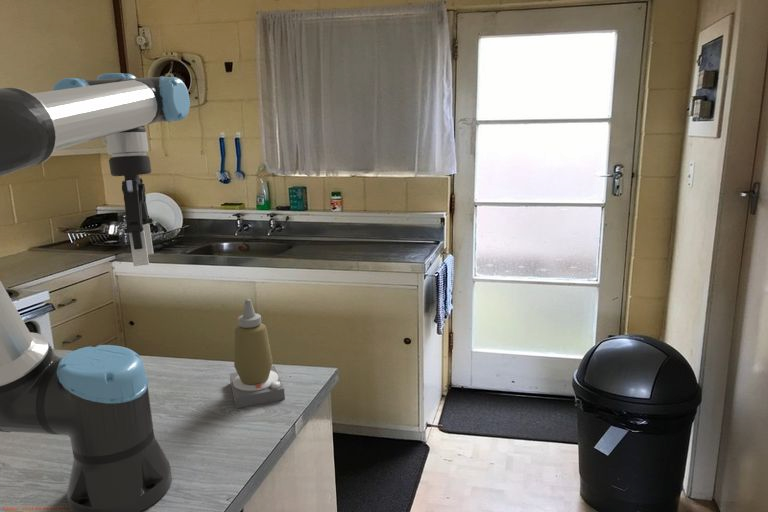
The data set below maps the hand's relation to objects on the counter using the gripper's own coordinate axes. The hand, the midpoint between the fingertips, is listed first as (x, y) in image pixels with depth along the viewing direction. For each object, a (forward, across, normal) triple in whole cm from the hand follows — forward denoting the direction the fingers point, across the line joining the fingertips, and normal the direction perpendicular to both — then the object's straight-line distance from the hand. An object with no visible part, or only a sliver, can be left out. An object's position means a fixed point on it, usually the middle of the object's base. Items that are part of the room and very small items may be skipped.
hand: (144, 259), depth 117 cm
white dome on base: (+31, +6, +19) cm, 37 cm away
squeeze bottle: (+28, +6, +19) cm, 34 cm away
